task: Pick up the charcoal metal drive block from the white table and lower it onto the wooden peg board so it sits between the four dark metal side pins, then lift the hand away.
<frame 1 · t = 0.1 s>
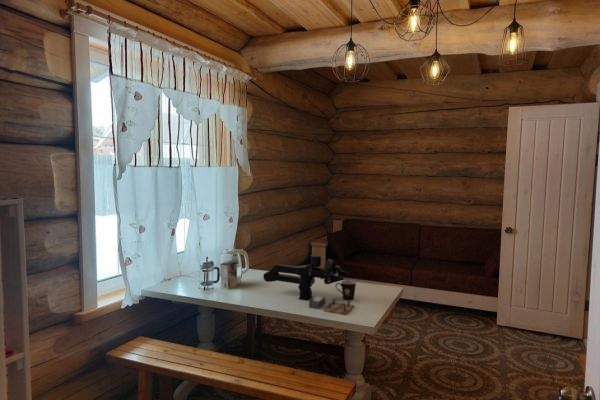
hand: (346, 276, 231), 17 cm above the table, tool horizontal, fingers open, 9 cm apart
wooden peg board: (339, 308, 226), on the table
coffee box: (229, 287, 265), on the table
drive: (317, 305, 231), on the table
coffee mug: (346, 298, 244), on the table
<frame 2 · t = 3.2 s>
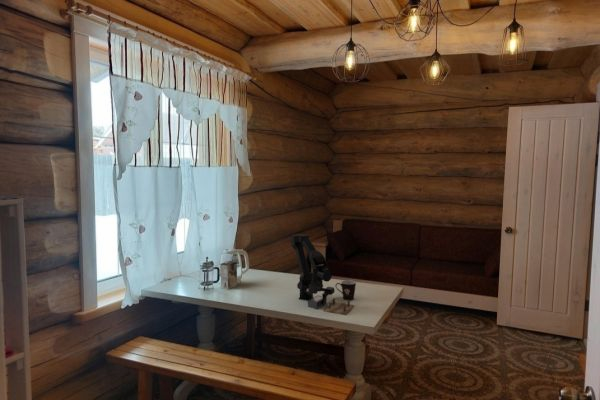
hand: (317, 303, 231), 1 cm above the table, tool pointing down, fingers closed on drive, 6 cm apart
drive: (317, 305, 231), on the table, touching gripper
everything else where it was.
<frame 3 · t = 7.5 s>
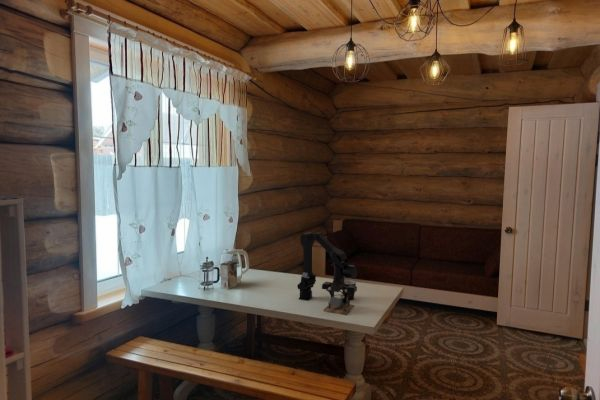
hand: (339, 302, 225), 4 cm above the table, tool pointing down, fingers closed on drive, 6 cm apart
drive: (338, 303, 225), point 3 cm above the table, tilted 9°, touching gripper
everything else where it was.
when the fingers open (3 cm above the table, at t = 8.5 s): drive drops 2 cm, resting on wooden peg board.
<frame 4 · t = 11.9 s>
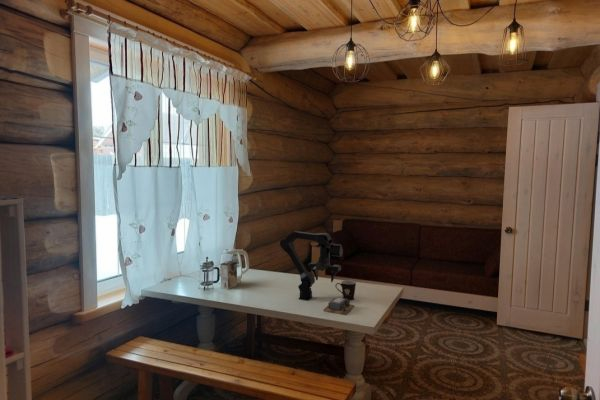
hand: (324, 281, 237), 12 cm above the table, tool pointing down, fingers open, 9 cm apart
drive: (338, 307, 225), point 1 cm above the table, touching wooden peg board
everything else where it was.
at the end: drive 0.3 cm off-centre on the wooden peg board, point 1.0 cm above the wooden peg board's base; drive tilted 0°; the gripper is holding nothing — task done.
